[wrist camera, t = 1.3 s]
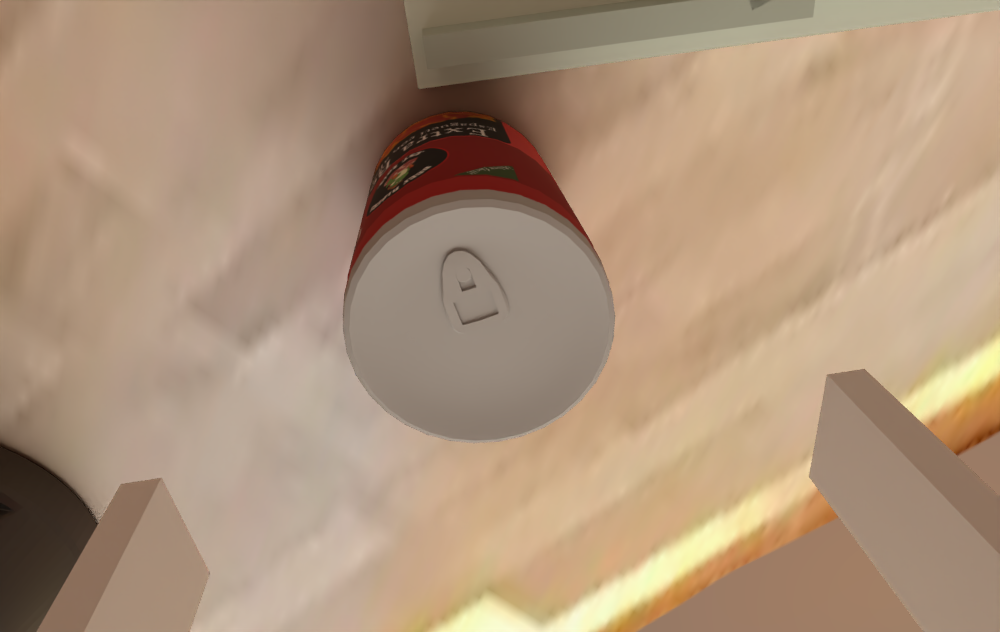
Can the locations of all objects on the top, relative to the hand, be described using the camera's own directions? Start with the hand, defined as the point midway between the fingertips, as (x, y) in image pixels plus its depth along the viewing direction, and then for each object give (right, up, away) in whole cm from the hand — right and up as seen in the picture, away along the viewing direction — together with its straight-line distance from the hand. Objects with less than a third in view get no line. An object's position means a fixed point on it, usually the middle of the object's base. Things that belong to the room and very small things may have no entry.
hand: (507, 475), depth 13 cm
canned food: (-2, +8, +14) cm, 17 cm away
